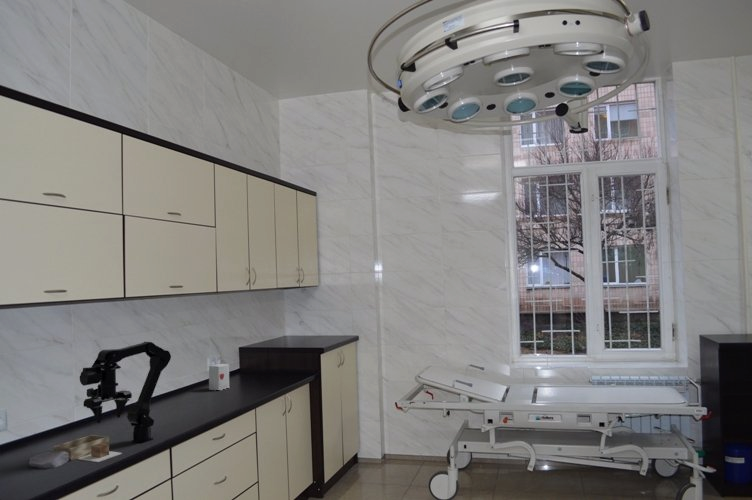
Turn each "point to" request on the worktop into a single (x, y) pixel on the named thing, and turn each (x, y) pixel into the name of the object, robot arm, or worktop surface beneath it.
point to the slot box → (81, 446)
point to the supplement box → (218, 376)
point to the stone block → (49, 459)
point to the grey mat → (96, 459)
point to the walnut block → (99, 450)
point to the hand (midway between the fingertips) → (108, 420)
